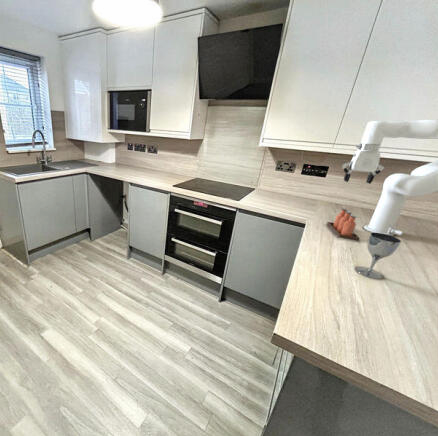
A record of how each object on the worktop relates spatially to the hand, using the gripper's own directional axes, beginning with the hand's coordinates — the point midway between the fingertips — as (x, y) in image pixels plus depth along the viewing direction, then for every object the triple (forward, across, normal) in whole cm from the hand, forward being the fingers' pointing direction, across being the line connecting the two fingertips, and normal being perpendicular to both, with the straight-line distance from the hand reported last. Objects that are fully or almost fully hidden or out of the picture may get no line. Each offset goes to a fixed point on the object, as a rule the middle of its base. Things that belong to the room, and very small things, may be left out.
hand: (357, 182), depth 122 cm
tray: (+26, -3, -8) cm, 27 cm away
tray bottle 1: (+25, -3, -2) cm, 26 cm away
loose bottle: (+25, -3, -14) cm, 29 cm away
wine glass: (+26, -9, -50) cm, 57 cm away
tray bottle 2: (+25, -3, -8) cm, 27 cm away
